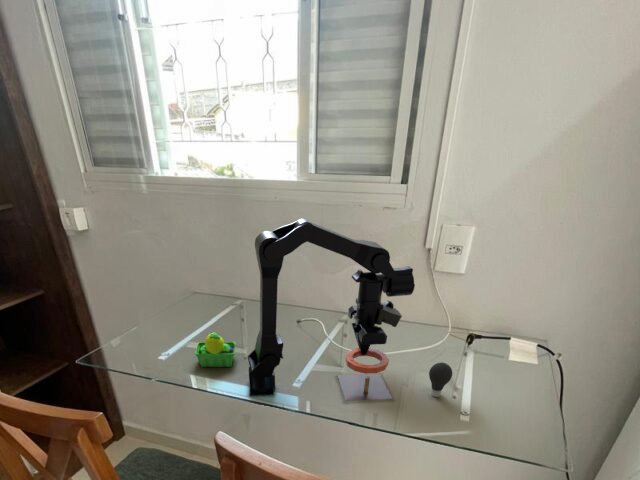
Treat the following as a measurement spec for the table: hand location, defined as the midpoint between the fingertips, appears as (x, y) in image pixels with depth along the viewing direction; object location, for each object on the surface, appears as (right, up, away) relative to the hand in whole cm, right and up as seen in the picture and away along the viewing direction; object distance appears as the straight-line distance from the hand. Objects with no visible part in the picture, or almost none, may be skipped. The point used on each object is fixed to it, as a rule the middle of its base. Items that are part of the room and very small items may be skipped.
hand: (362, 353), depth 113 cm
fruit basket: (-42, -2, +12) cm, 43 cm away
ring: (0, -3, -3) cm, 5 cm away
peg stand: (0, -9, +1) cm, 10 cm away
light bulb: (+19, -12, -2) cm, 22 cm away
